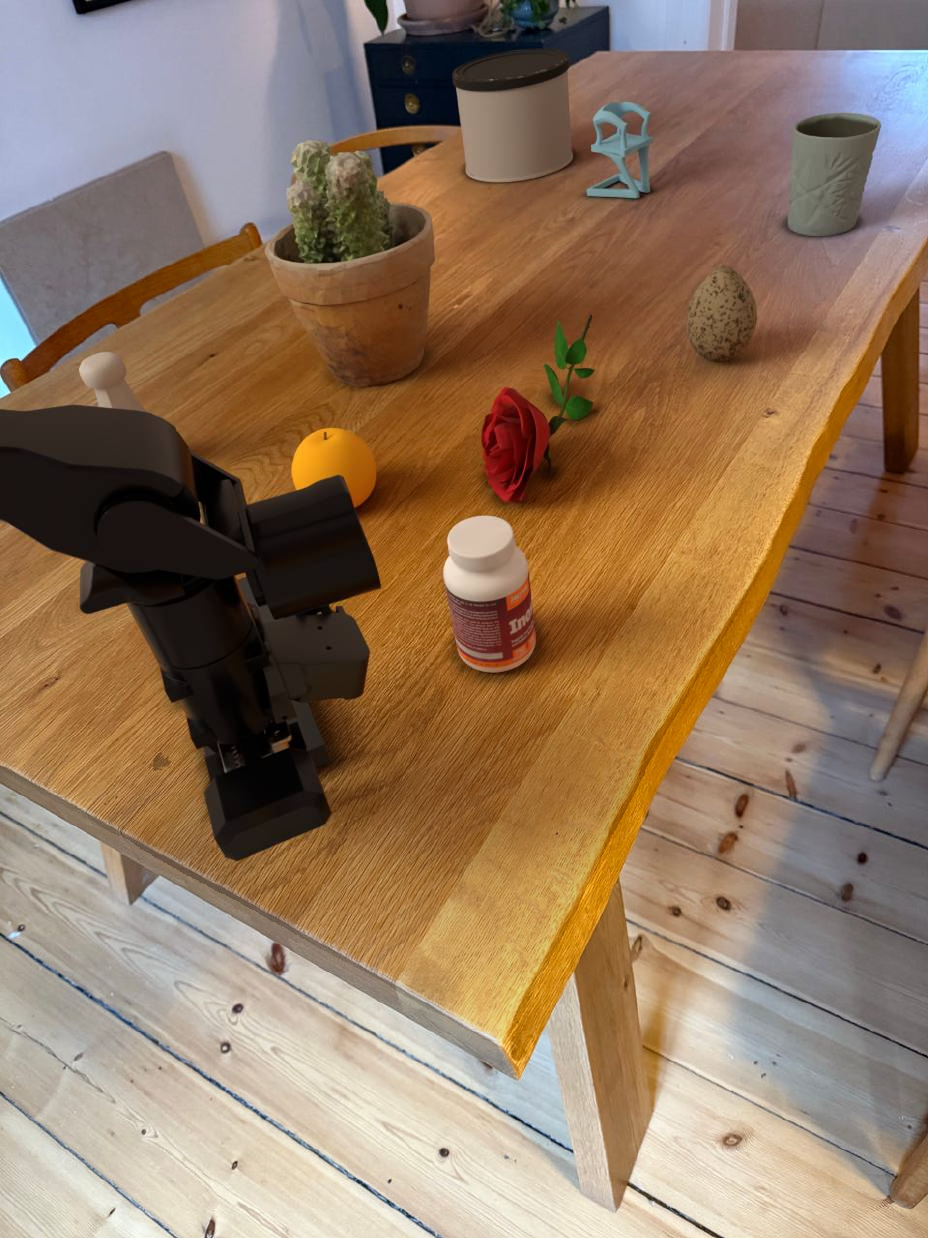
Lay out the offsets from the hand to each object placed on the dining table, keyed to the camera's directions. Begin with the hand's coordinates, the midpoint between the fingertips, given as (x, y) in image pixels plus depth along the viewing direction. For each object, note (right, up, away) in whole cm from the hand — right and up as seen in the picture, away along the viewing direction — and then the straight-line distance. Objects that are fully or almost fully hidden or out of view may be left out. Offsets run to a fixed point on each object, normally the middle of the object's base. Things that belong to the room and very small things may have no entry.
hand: (279, 795), depth 60 cm
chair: (+37, +78, +77) cm, 115 cm away
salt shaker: (-22, +28, +36) cm, 51 cm away
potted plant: (+2, +43, +47) cm, 63 cm away
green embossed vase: (+60, +64, +58) cm, 106 cm away
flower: (+21, +32, +31) cm, 49 cm away
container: (+22, +90, +93) cm, 132 cm away
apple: (+1, +23, +27) cm, 35 cm away
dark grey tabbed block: (-2, +3, +6) cm, 7 cm away
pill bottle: (+15, +10, +9) cm, 20 cm away
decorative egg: (+40, +40, +36) cm, 68 cm away
